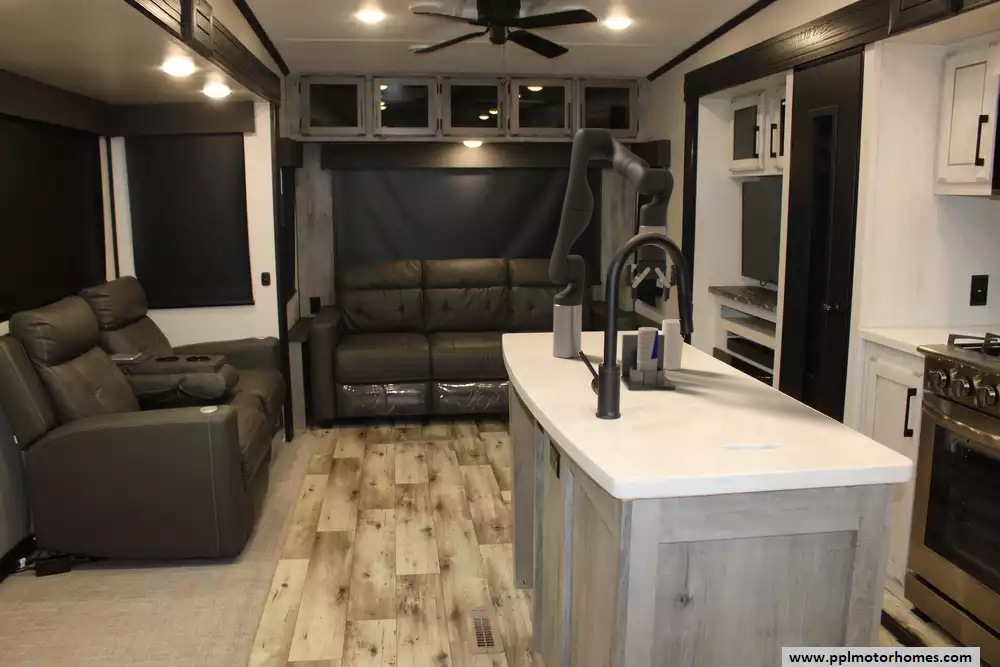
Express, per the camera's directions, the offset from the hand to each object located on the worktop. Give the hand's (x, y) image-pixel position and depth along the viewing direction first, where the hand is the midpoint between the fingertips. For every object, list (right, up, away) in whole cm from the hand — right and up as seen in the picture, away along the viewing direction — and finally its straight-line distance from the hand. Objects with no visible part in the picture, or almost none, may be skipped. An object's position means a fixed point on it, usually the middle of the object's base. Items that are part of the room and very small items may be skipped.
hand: (649, 301), depth 228 cm
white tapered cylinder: (+11, -20, +24) cm, 33 cm away
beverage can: (0, -23, +4) cm, 23 cm away
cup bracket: (0, -23, +4) cm, 24 cm away
